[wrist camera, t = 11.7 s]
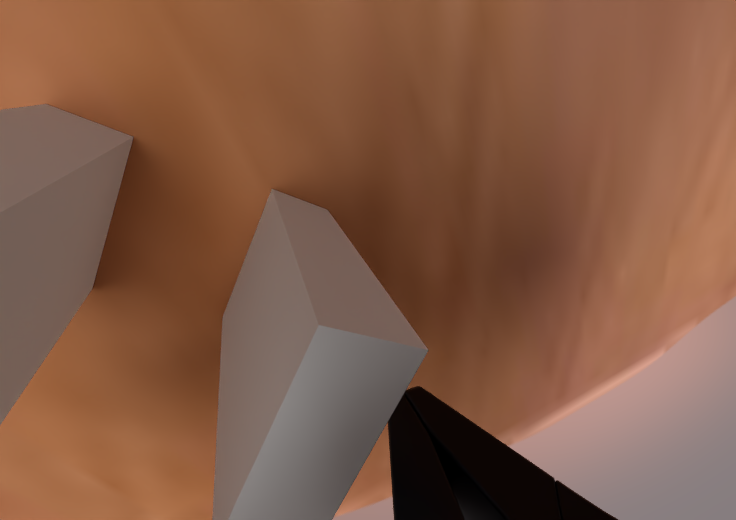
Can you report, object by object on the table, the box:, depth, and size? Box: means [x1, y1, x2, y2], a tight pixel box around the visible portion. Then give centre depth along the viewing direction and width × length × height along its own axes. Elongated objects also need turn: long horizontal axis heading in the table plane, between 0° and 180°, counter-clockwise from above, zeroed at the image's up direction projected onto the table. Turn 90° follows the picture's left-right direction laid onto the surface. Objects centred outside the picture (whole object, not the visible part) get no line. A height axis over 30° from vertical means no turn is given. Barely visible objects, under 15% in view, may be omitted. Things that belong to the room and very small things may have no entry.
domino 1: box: [213, 189, 428, 520], centre depth 10 cm, size 2×5×8 cm, turn 154°
